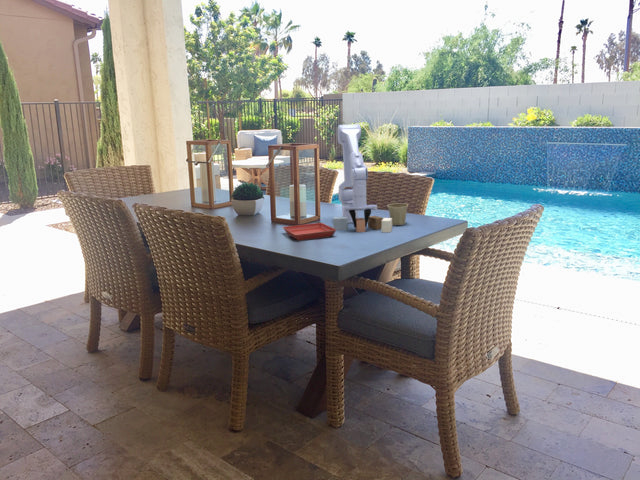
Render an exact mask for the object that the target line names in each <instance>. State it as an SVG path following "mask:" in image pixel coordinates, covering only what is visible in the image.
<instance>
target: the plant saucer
mask: <svg viewBox="0 0 640 480" xmlns="http://www.w3.org/2000/svg"><path fill="white" fill-rule="evenodd" d="M282 229H283V230H284V231H285V233H287V235H289V236H290V237H292V238H294V239H296V240H297V241H306V240H315V239H322V238H331V237H333V235H334V234H335V233H336V231H337V230H336V229H334V228H333V227H331V226H330V225H327V224H326V223H323V222H316V223H307V224H306V223H305V224H299V225H289V226H288V225H287V226H282Z"/></svg>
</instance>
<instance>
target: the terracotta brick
mask: <svg viewBox="0 0 640 480" xmlns="http://www.w3.org/2000/svg"><path fill="white" fill-rule="evenodd" d="M354 229H355V232H356V233H366V227H365V220H364V217H358V218H356V228H354Z"/></svg>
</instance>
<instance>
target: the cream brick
mask: <svg viewBox="0 0 640 480" xmlns="http://www.w3.org/2000/svg"><path fill="white" fill-rule="evenodd" d="M392 230H393V225H392V218H390V217H383V220H382V229H381V233H391V232H392Z"/></svg>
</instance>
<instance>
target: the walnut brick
mask: <svg viewBox="0 0 640 480" xmlns="http://www.w3.org/2000/svg"><path fill="white" fill-rule="evenodd" d="M383 219H384V217H382V216H379V215H370V216H369V219H368V222H367V228H368V229H372V230H376V231H378V230H382V220H383Z"/></svg>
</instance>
